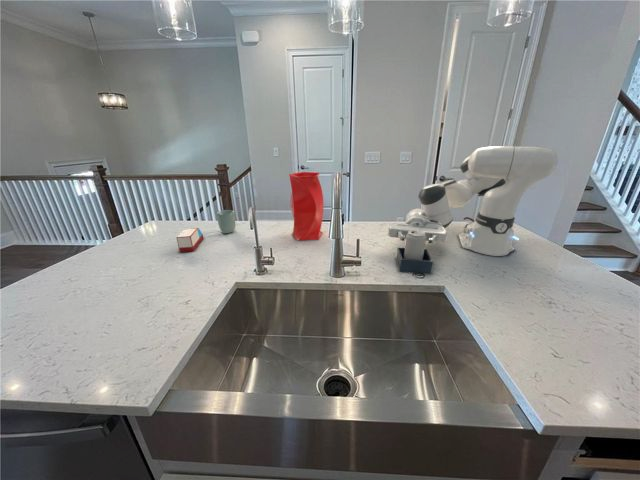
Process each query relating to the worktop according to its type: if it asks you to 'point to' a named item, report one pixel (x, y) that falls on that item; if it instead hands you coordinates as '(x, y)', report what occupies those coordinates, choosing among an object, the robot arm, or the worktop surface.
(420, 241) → the beverage can
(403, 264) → the tote
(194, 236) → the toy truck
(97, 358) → the worktop surface
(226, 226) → the cup
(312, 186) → the vase
